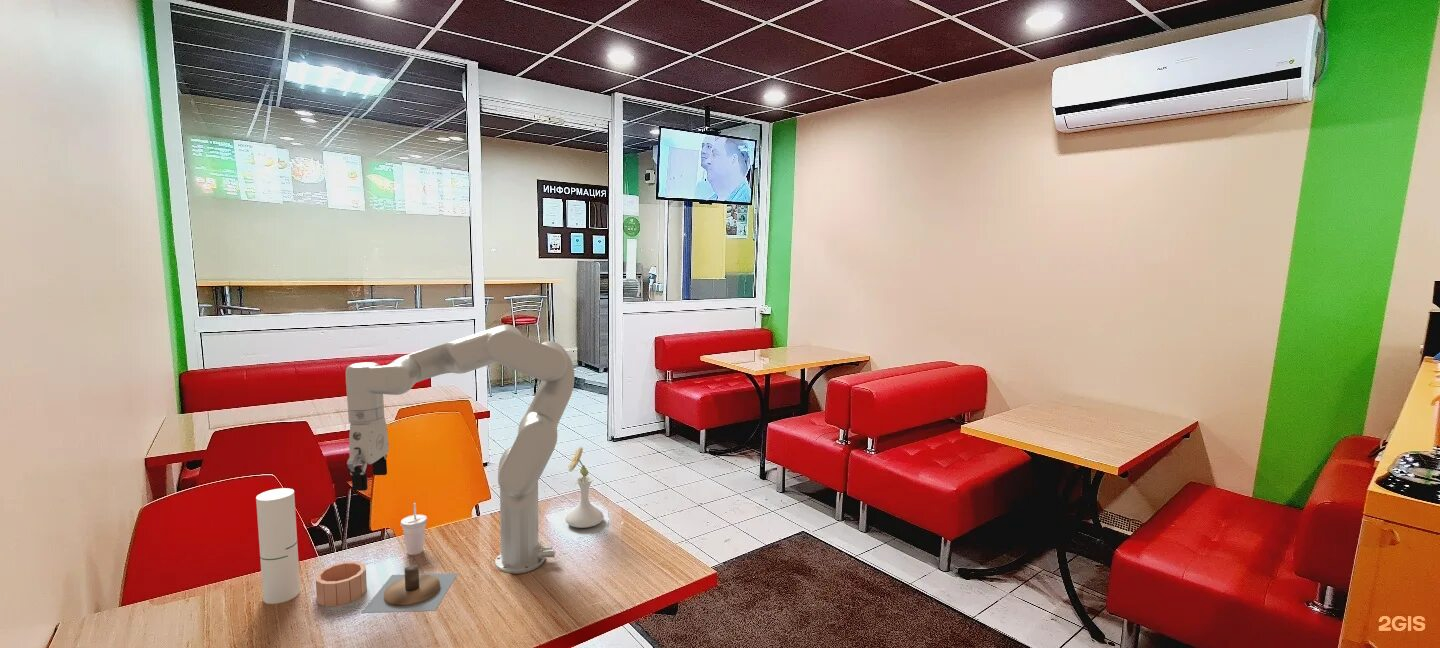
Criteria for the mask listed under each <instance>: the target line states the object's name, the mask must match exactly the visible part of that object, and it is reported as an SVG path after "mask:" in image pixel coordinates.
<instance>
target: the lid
mask: <svg viewBox="0 0 1440 648" xmlns="http://www.w3.org/2000/svg"><path fill="white" fill-rule="evenodd" d="M419 574H420V570H419V565H417V564H412V565H408V566H405V568H404V575H405V578H402V579H400V580H398V581H396V582H394V583H392V584H391V585H389V586H388V587H387V588H386V590H385V591H384V600H385V602H386V603H388V604H390V605H393V606H410V605H415V604H418V603H421V602H424V601H426V600H428V599H430V598H432V597H433V596H434V595H436V594H437V592H438V591H439V589H440V581H439V579H438V578H436V577H435V576H431V575H419Z"/></svg>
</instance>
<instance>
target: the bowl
mask: <svg viewBox="0 0 1440 648" xmlns="http://www.w3.org/2000/svg"><path fill="white" fill-rule="evenodd" d="M367 581H368V580H367V567H366V563H363V562H360V561H359V560H358V561H356V560H355V561H353V560H352V561H350V560H349V561H343V562H338V563H334V564H331V565H329V566H326V567H324V568H323V569H321V570H319V572H317V574H316V575H315V591H316V603H317V604H318V605H321V606H323V607H339V606H342V605H346V604H349V603H353V602H355V601H357V600H358V599H360V598H362V597H363V596H364V594H366V592H367V591H368V586H367Z"/></svg>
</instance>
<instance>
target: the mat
mask: <svg viewBox="0 0 1440 648" xmlns="http://www.w3.org/2000/svg"><path fill="white" fill-rule="evenodd" d="M458 573H459V572H458ZM458 573H457V572H456V573H453V572H452V573H421V574H420V573H419V575H431V576H435V577H436V578H438V579H439V581H440V589H439V591H438V592H437V594H436V595H434V596H433V597H432V598H430V599H428V600H426V601H424V602H421V603H418V604H415V605H410V606H393V605H390V604H388V603H386V602H385V600H384V591H385V590H386V588H387V587H388V586H389V585H391V584H392V583H394V582H396V581H398V580H400V579H402V578H405V574H391V576H389V578H388V579H387V580H386V581H385V583H384V584H383V585H382V587H381V588H380V589H379V590H378V592H377V593H375V595H374V596H373V597H372V599H371V600H370V602H369V603H368V604H367V605H366V606H365V607H364V609H363V610H362V611H361V613H362V614H367V613H368V614H369V613H370V614H371V613H374V614H375V613H394V612H395V613H401V612H403V613H405V612H433V611H434V612H436V611H437V608H438V606H439V605H440V603H441V602H442V600H443V599H444V597H445V596H446V594H447V592H448V591H449V589H450V588H451V586H452V584H453V582H454V581H455V580H456V578H457V576H458Z"/></svg>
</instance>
